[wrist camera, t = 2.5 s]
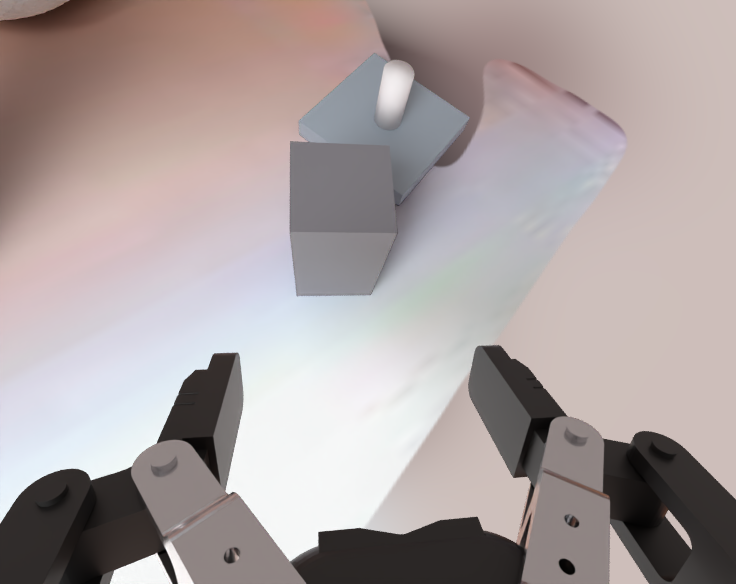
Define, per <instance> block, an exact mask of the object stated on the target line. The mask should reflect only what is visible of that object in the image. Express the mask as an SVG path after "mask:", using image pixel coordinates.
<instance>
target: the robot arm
mask: <svg viewBox="0 0 736 584" xmlns="http://www.w3.org/2000/svg"><path fill="white" fill-rule="evenodd" d="M468 385H469V394H470V398H471V400H472V402H473V404H474V406H475V407H476V409H477V411H478V413H479V415H480V417H481V419H482V421H483V422H484V424H485V426H486V428H487V430H488V432H489V434H490V435H491V437H492V439H493V441H494V443H495V445H496V446H497V448H498V450H499V452H500V454H501V456H502V458H503V460H504V461H505V463H506V465H507V467H508V469H509V471H510V473H511V475H512V476H513V478H517V477H528V478H529V480H530V481H531V484H530V487H529V489H528V494H527V498H526V503H525V507H524V511H523V516H522V520H521V524H520V529H519V533H518V538H517V542H516V543H515V542H513V541H511V540H509V539H507V538H505V537H502V536H500V535H498V534H494V533H491V532H488V531H483V529H482V527H481V524H480V522H479V519H478V517H470V518H459V519H449V520H440V521H437V522H435V523H432V524H429V525H427V526H425V527H422V528H420V529H417V530H414V531H412V532H409V533H407V534H401V535H400V534H393V533H387V532H380V531H374V530H368V529H362V528H355V529H345V530H334V531H324V532H318V546H317V547H315V548H312V549H310V550H308V551H306V552H304V553H302V554H300V555H299V556H297V557H296V558H295V559H293V560H292V561H289V560H288V559H287V558H286V556H285V555H284V554H283V552H282V551H281V550H280V548H279V547H278V546H277V544H276V543H275V542H274V540H273V539H272V538H271V537H270V535H269V534H268V533H267V531H266V530H265V529H264V527H263V526H262V525H261V523H260V522H259V521H258V519H257V518H256V517H255V516H254V514H253V513H252V512H251V510H250V509H249V508H248V506H247V505H246V504H245V502H244V501H243V500H242V499H241V497H240V496H239V495H238V494H237V493H235V492H232V493H231V494H229V495H228V494H227V493H226V492H225V490H226V485H227V480H228V476H229V471H230V466H231V461H232V457H233V452H234V447H235V442H236V438H237V433H238V428H239V424H240V419H241V414H242V409H243V385H242V375H241V366H240V357H239V354H238V353H214V354H213V356H212V359H211V361H210V364H209V367H208V369H207V370H195V371H194V372H193V373H192V374H191V375H190V376H189V377H188V378H187V379H185V380H184V382H183V384H182V387H181V389H180V391H179V395H178V396H177V398H176V400H175V403H174V406H173V407H172V409H171V412H170V414H169V416H168V418H167V421H166V423H165V425H164V428H163V430H162V432H161V434H160V437H159V439H158V441H157V444H155V445H153V446H151V447H149V448H148V449H146V450H145V451H143V452H142V453H141V454H140V455H139V456H138V457H137V459H136V460H135V462H134V463H133V466H132V467H130V468H128V469H126V470H123V471H120V472H117V473H114V474H111V475H107V476H104V477H101V478H98V479H94V480H90V477H89V475H88V474H87V473H86V472H84V471H82V470H79V469H65V470H60V471H57V472H54V473H51V474H48V475H46V476H44V477H42V478H40V479H39V480H37V481H35V482H34V483H32V484H31V485H30V486H28V487H27V488H26V489H25V490H24V491H23V492H22V493H21V494H20V495H19V496H18V498H17V499H16V501H15V502H14V504H13V505H12V507H11V508H10V510H9V511H8V513H7V514H6V516H5V517H4V519H3V520H2V522H1V523H0V584H110V581H111V578H112V575H113V572H114V570H116V569H118V568H121V567H123V566H126V565H128V564H131V563H133V562H136V561H138V560H141V559H143V558H146V557H148V556H151V555H153V554H155V555H156V557H157V559H158V561H159V563H160V565H161V567H162V569H163V571H164V573H165V575H166V577H167V579H168V581H169V583H170V584H609V554H610V553H609V552H610V524H611V525H612V527H613V528H614V530H615V531H616V533H617V535H618V536H619V538H620V539H621V541H622V542H623V544H624V546H625V547H626V549H627V550H628V552H629V553H630V555H631V556H632V558H633V559H634V561H635V563H636V564H637V565H638V567H639V569H640V570H641V572H642V573H643V575H644V576H645V578H646V580H647V581H648V583H649V584H736V499H735V498H734V497H733V496H732V495H730V493H729V492H728V491H727V490H726V489H725V488H724V487H722V485H721V484H720V483H718V481H717V480H716V479H714V477H713V476H712V475H711V474H710V473H709V472H708V471H707V470H706V469H704V467H703V466H702V465H701V464H700V463H699V462H698V461H697V460H696V459H695V458H694V457H693V456H692V455H691V454H690V453H689V452H688V451H687V450H686V449H685V448H683V447H682V446H681V445H680V444H678V443H677V442H675V441H674V440H672V439H670V438H668V437H666V436H664V435H661V434H658V433H654V432H649V431H642V432H638V433H636V434H635V435H634V437H633V440H632V441H631V444H628V443H623V442H618V441H612V440H607V439H603V438H602V437H601V435H600V434H599V432H598V431H597V430H596V429H594V428H593V427H592V426H591V425H589V424H587V423H586V422H583V421H581V420H579V419H576V418H572V417H568V416H567V415H566V414H565V413H564V411H562V409H561V408H560V407H559V405H558V404H557V403H556V402H555V400H554V399H553V398H552V397H551V395H550V394H549V393H548V392H547V390H546V389H544V388H543V386H542V384H541V383H540V382H539V381H538V380H536V377H535V376H534V374H533V373H532V372H531V371H530V370H529V368H528V367H526V366H525V365H523V364H522V363H520V362H519V361H517V360H516V359H511V358H510V357H509V356H508V354H507V353H506V352H505V351H504V349H503V348H502V347H501V346H499V345H492V346H477V348H476V350H475V353H474V358H473V363H472V368H471V373H470V378H469V384H468ZM668 510H669V511H670V512H671V513H672V514H673V516H674V517H675V518H676V519H677V520H678V522H679V523H680V524H681V525H682V527H683V528H684V529H685V530H686V532H687V534H688V535H689V537H690V540H691V544H692V550H691V549H690V548H689V546H688V545H687V544H686V543H685V541H684V540H683V539H682V538H681V536H680V535H679V534H678V532H677V531H676V530H675V529H674V527H673V526H672V525H671V524H670V522H669V521H668V520H667V518H666V517H665V515H666V513H667V511H668Z"/></svg>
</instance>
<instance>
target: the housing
mask: <svg viewBox="0 0 736 584" xmlns="http://www.w3.org/2000/svg"><path fill="white" fill-rule="evenodd" d="M396 235H397V222H396V211H395V200H394V189H393V178H392V168H391V157H390V146H388V145H364V144H340V143H316V142H293V141H290V239H291V248H292V257H293V266H294V275H295V284H296V293H297V296H330V295H371V293H372V291H373V288H374V286H375V284H376V281H377V279H378V277H379V275H380V272H381V270H382V268H383V265H384V263H385V261H386V258H387V256H388V254H389V252H390V249H391V247H392V245H393V242H394V240H395V238H396Z"/></svg>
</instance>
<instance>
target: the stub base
mask: <svg viewBox="0 0 736 584" xmlns="http://www.w3.org/2000/svg"><path fill="white" fill-rule="evenodd" d="M414 75H415V74H414V70H413V68H412V67H411V66H410V65H409V64H408V63H406V62H404V61H401V60H392V61H389V62H387V61H386V60H384V59H383V58H381V57H380V56H378V55H377V54H375V53H374V54H373V55H372V56H370V57H369V58H368V59H367V60H366V61H365V62H364V63H363V64H362V65H360V66H359V67H358V68H357V69H356V70H355V71H354V72H353V73H352V74H350V75H349V76H348V77H347V78H346V79H345V80H344V81H343V82H342V83H340V84H339V85H338V86H337V87H336V88H335V89H334V90H333V91H332V92H330V93H329V94H328V95H327V96H326V97H325V98H324V99H323V100H322V101H320V102H319V103H318V104H317V105H316V106H315V107H314V108H313V109H312V110H310V111H309V112H308V113H307V114H306V115H305V116H304V117H303V118H302V119H300V120H299V135H300V136H302V137H303V138H305V139H306V140H307V141H309V142H316V143H340V144H364V145H388V146H390V157H391V168H392V178H393V189H394V200H395V204H396V205H398V206H399V205H400V204H401V203H402V201H403V200H404V199H405V198H406V197H407V196H408V195H409V193H410V192H411V191H412V190H413V189H414V188H415V186H416V185H417V184H418V183H419V182H420V181H421V179H422V178H423V177H424V176H425V175H426V174H427V172H428V171H429V170H430V169H431V168H432V167H433V165H434V164H435V163H436V162H437V161H438V160H439V158H440V157H441V156H442V155H443V154H444V153H445V151H446V150H447V149H448V148H449V147H450V146H451V144H452V143H453V142H454V141H455V140H456V139H457V137H458V136H459V135H460V134H461V133H462V132H463V130H464V128H465V127H466V125H467V123H468V121H469V119H470V117H468V116H467V115H465V114H464V113H462V112H461V111H459V110H458V109H457V108H455V107H453V106H452V105H451V104H449V103H448V102H446V101H445V100H443V99H442V98H440V97H439V96H437V95H436V94H434V93H433V92H431V91H430V90H429V89H427V88H425V87H424V86H423V85H421V84H420V83H418V82H417V81H415V80H414Z"/></svg>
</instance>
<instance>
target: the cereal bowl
mask: <svg viewBox="0 0 736 584" xmlns="http://www.w3.org/2000/svg"><path fill="white" fill-rule="evenodd" d="M67 1H69V0H0V21H1V20H11V19H13V20H15V19H18V18H24V17H29V16H34V15H38V14H40V13H45V12H46V11H50V10H52V9H55V8H56V7H58V6H60V5H63V4H64V3H65V2H67Z"/></svg>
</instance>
